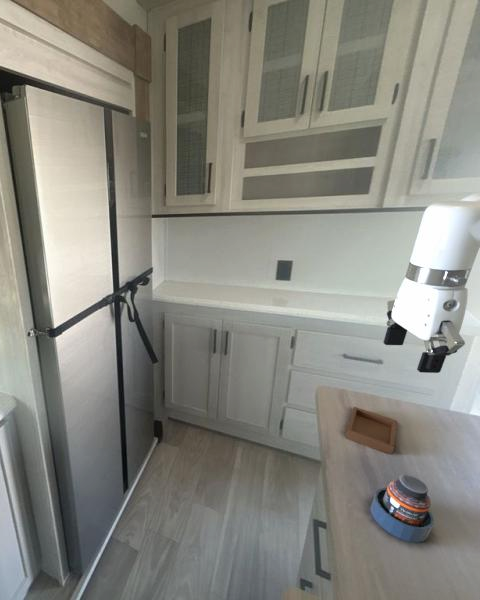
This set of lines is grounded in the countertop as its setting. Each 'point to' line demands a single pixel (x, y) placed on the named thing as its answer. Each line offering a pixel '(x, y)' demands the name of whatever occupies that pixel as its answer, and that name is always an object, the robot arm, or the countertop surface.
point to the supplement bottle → (407, 500)
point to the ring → (397, 526)
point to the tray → (372, 430)
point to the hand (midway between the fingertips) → (409, 357)
